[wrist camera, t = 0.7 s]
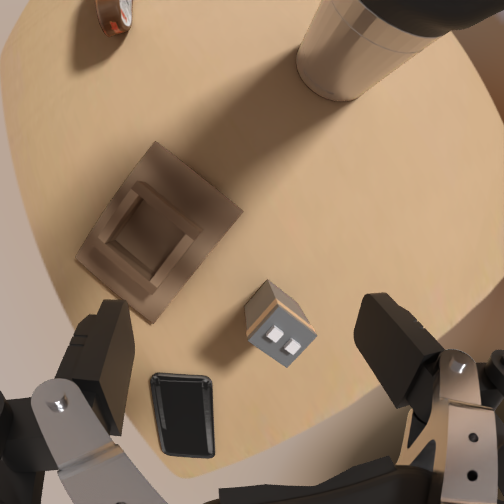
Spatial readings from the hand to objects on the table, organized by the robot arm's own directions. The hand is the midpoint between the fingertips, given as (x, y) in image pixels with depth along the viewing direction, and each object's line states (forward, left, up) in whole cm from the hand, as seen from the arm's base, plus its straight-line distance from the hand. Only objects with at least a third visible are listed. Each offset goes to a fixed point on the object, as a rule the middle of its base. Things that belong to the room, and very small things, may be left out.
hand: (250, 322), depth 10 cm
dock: (+6, -7, -24) cm, 25 cm away
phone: (+24, +10, -24) cm, 35 cm away
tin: (-14, -31, -24) cm, 42 cm away
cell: (+4, +8, -24) cm, 25 cm away
